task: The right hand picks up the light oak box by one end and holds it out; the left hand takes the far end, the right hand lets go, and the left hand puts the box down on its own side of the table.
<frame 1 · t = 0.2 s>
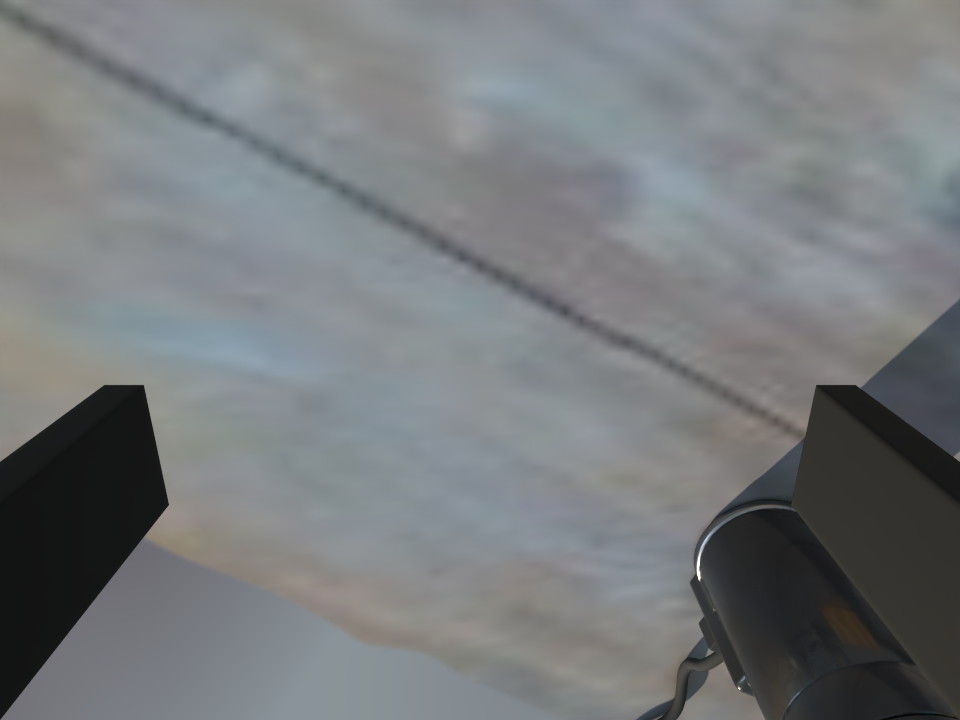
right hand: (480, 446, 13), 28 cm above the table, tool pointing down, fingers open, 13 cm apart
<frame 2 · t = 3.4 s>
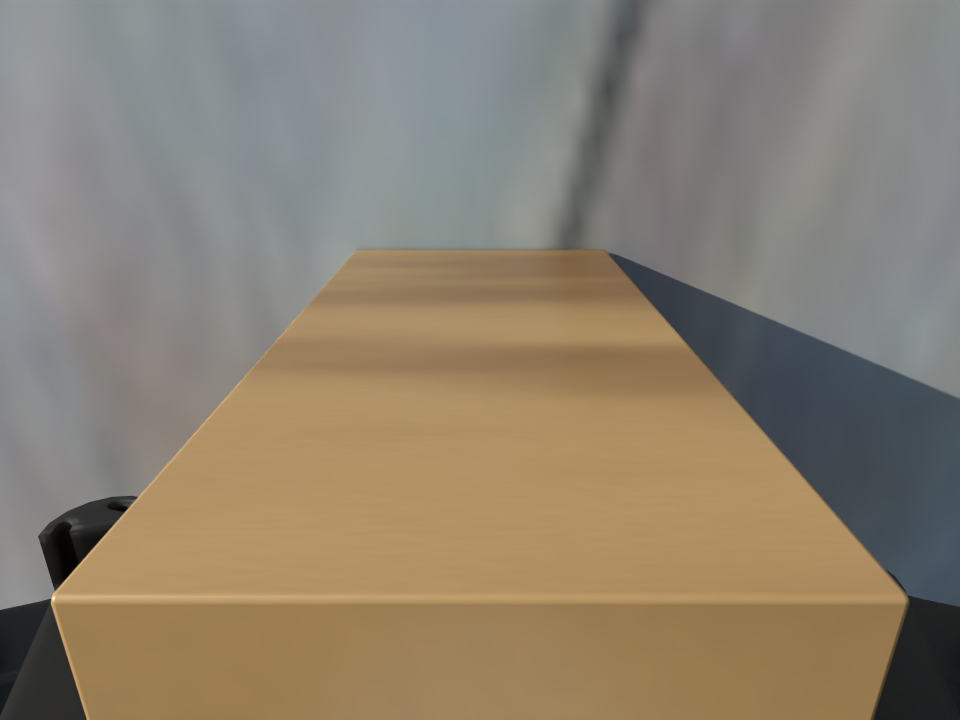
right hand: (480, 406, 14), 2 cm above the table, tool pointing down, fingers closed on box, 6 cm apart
box: (480, 674, 20), on the table, touching right hand
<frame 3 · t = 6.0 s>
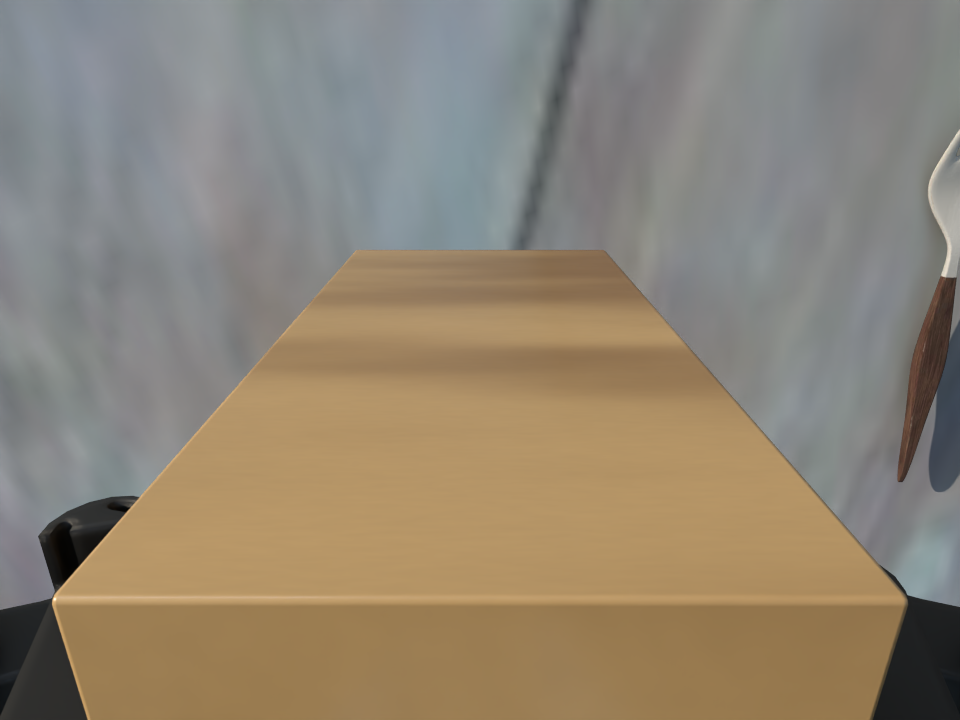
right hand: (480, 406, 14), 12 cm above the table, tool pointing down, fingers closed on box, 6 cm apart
fork: (930, 300, 26), on the table
box: (480, 674, 20), point 10 cm above the table, touching right hand
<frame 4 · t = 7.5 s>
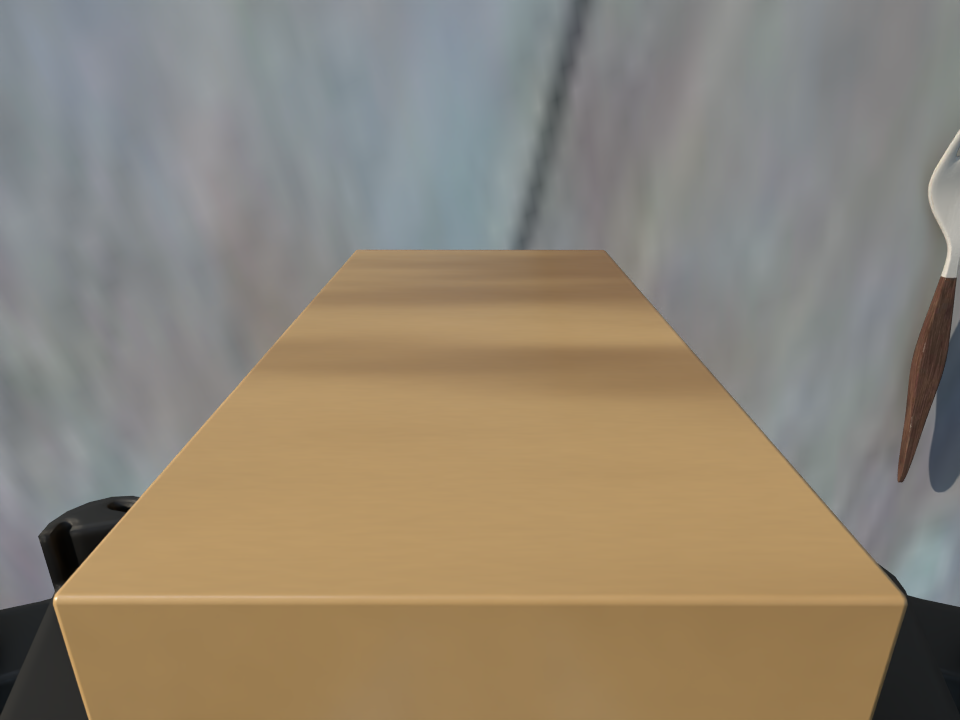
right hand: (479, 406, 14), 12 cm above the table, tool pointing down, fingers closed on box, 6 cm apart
fork: (930, 300, 26), on the table
box: (480, 674, 20), point 10 cm above the table, touching right hand, left hand
when the right hand's fingers open (12 cm above the table, at t = 8.5 s): box stays where it is, held by the left hand.
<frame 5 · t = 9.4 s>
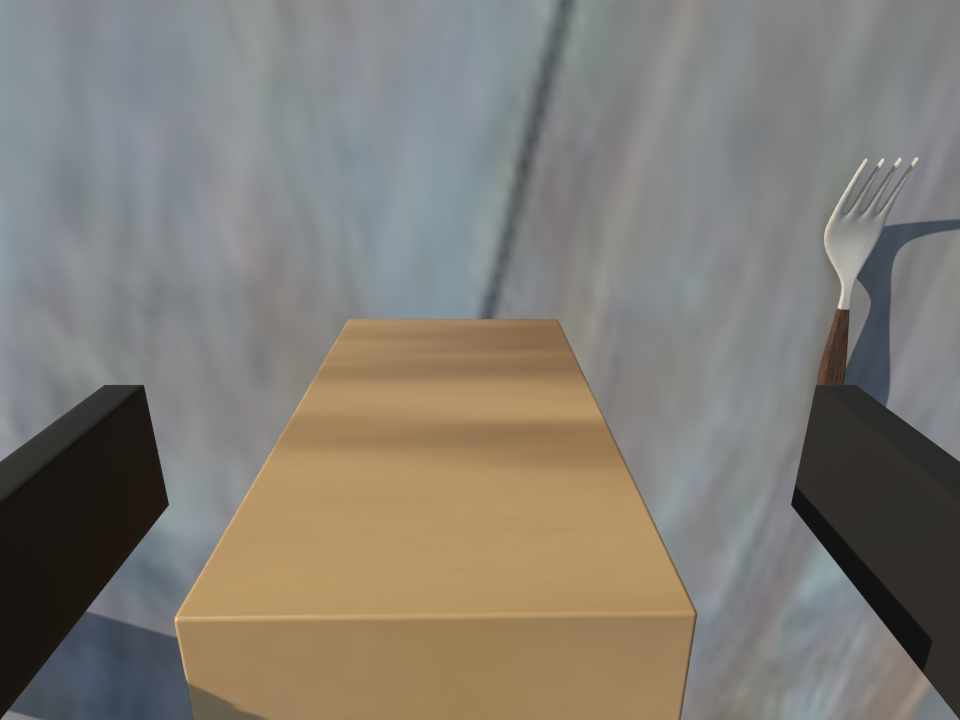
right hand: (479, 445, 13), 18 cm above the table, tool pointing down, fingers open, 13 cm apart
fork: (831, 327, 31), on the table
box: (456, 681, 23), point 12 cm above the table, touching left hand
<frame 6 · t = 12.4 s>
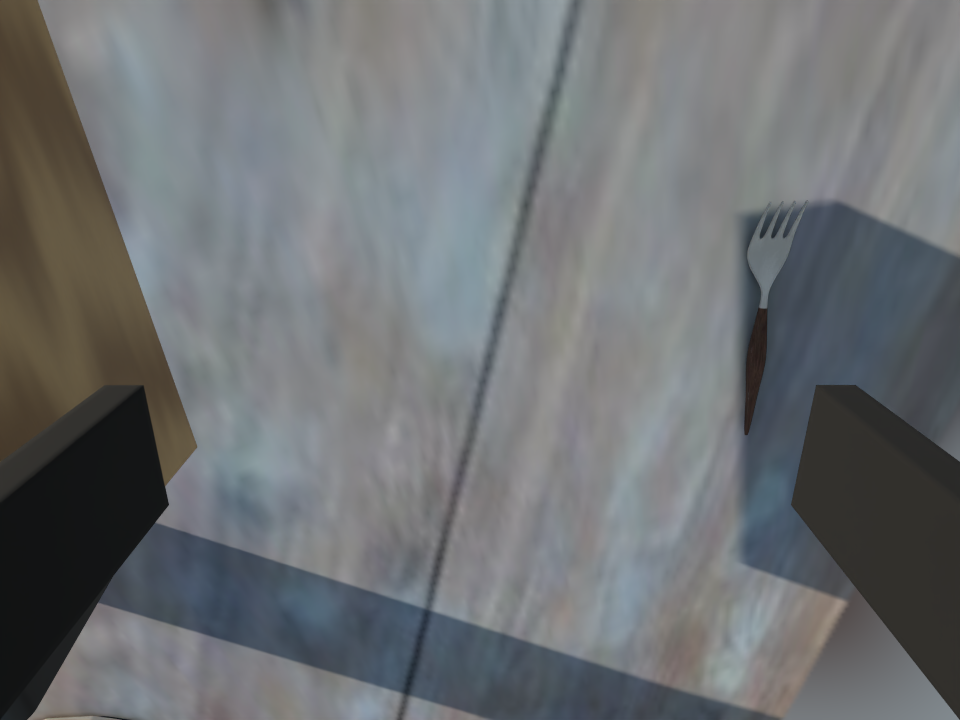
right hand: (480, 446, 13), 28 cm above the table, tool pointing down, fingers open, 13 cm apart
fork: (756, 321, 42), on the table
box: (28, 176, 26), point 12 cm above the table, touching left hand
when the left hand's fingers open (9 cm above the table, at t = 17.3 s): box drops 1 cm, on the table.
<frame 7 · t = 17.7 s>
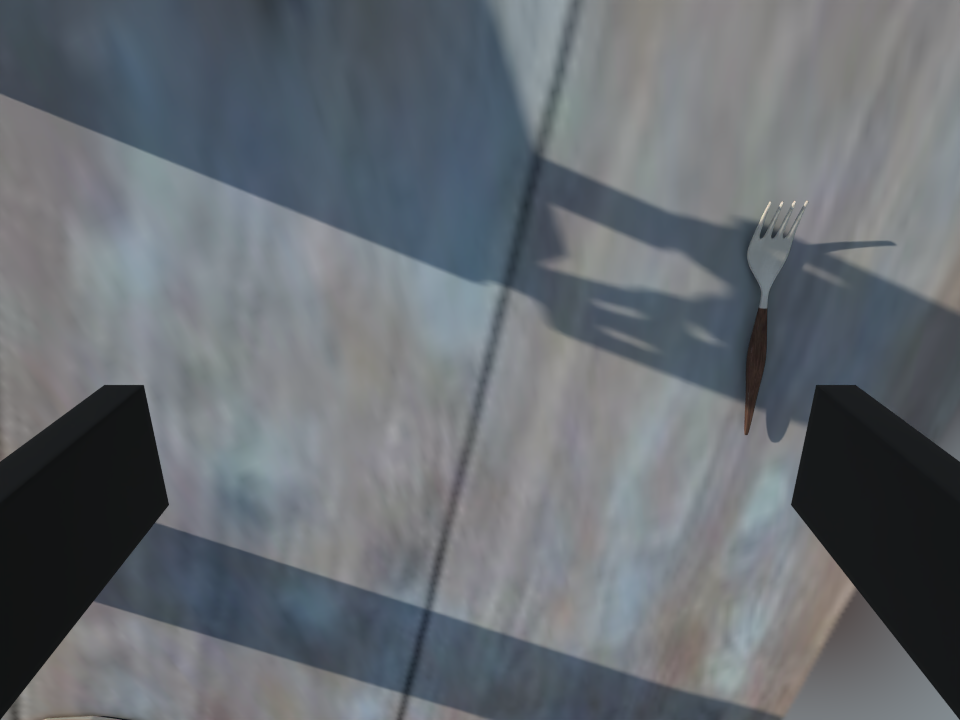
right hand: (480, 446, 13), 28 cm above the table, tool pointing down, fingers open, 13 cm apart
fork: (756, 321, 42), on the table
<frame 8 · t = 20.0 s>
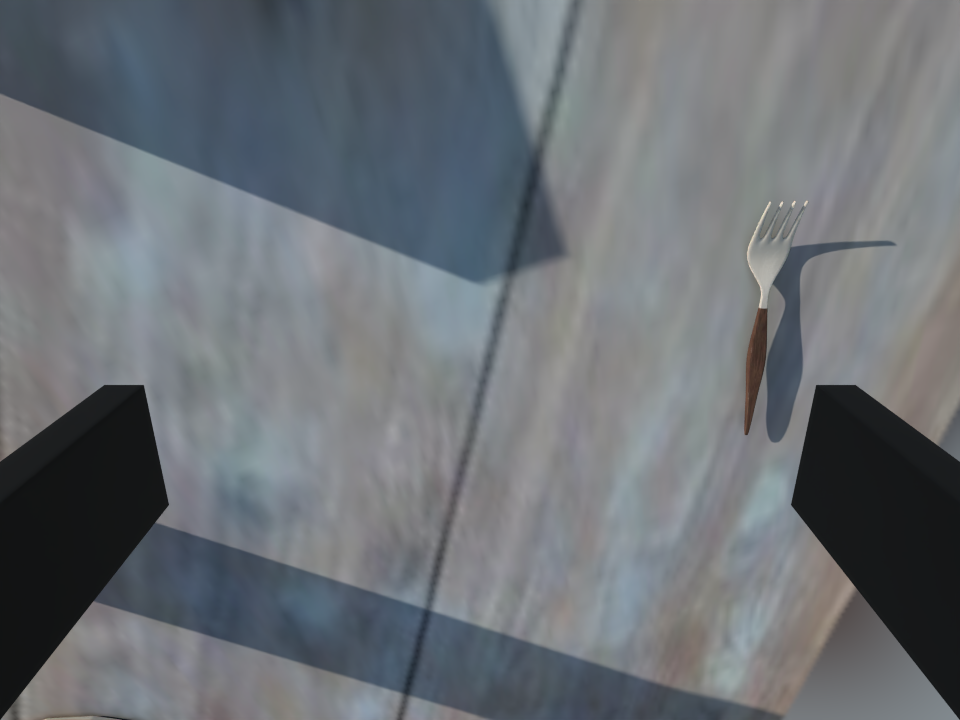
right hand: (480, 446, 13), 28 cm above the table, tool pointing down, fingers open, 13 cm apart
fork: (756, 321, 42), on the table
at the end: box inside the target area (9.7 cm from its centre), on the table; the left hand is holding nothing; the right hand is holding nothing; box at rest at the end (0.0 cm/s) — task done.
